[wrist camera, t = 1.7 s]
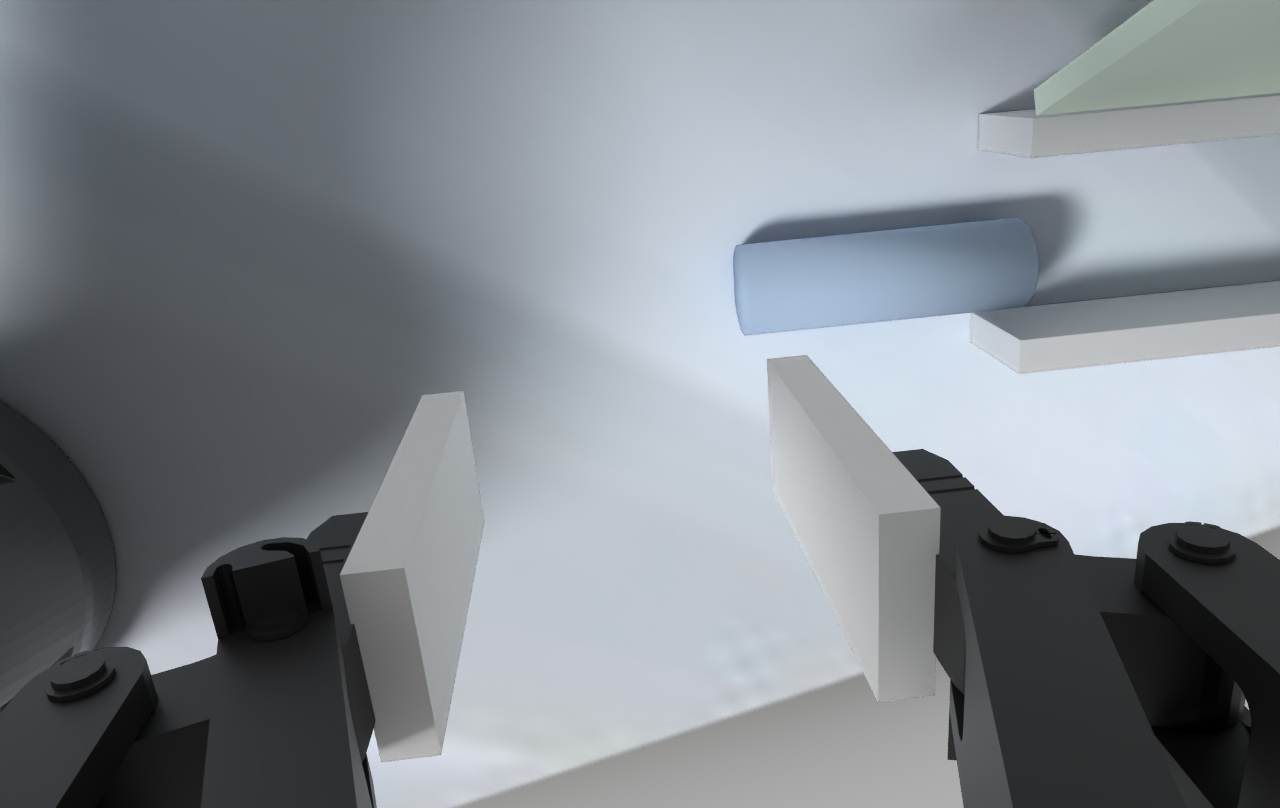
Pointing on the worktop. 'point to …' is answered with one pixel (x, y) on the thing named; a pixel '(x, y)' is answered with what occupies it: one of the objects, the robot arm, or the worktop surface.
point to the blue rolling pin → (884, 275)
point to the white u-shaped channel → (1142, 319)
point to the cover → (1173, 58)
